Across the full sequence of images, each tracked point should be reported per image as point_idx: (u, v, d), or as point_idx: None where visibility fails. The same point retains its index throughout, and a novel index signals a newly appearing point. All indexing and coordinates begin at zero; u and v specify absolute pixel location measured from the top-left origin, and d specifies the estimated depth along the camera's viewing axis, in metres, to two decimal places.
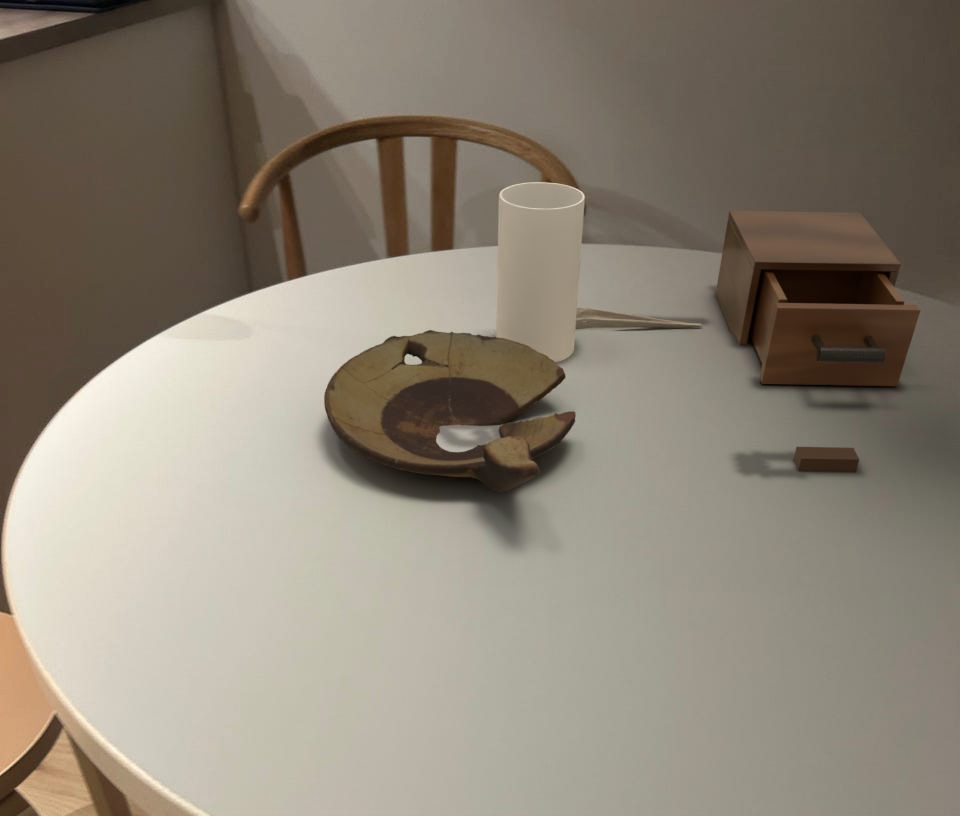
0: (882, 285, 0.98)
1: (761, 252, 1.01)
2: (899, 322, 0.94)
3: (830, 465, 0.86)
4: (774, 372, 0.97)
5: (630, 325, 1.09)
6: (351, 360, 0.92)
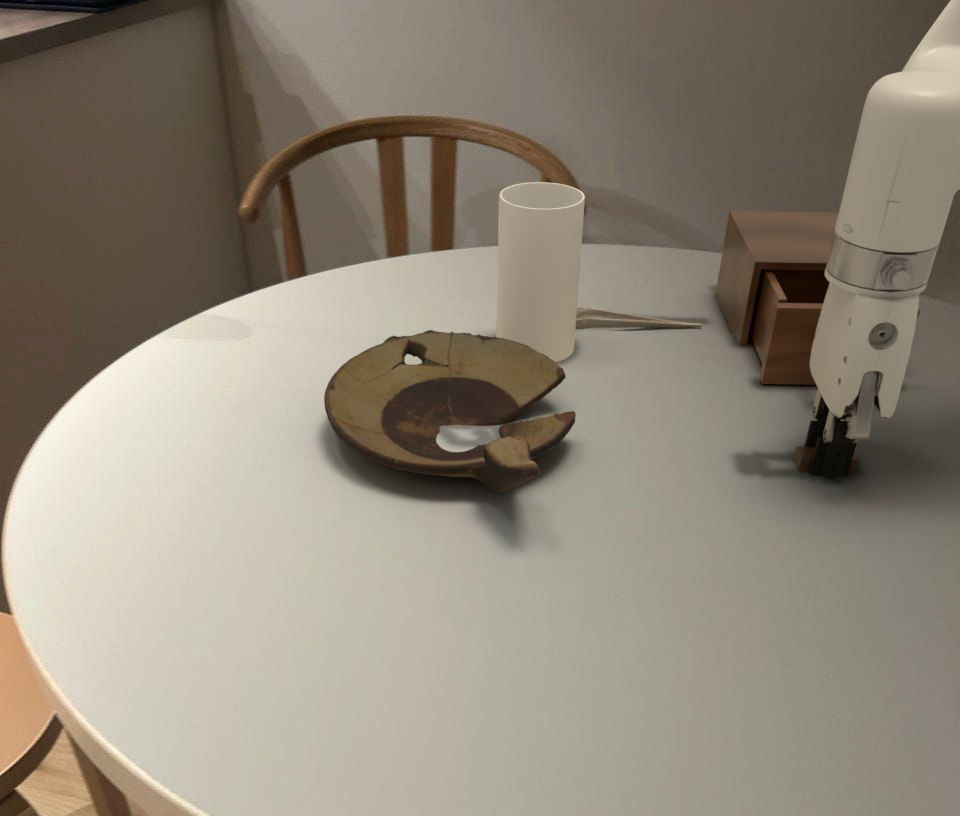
0: None
1: (761, 252, 1.01)
2: None
3: None
4: (774, 372, 0.97)
5: (630, 325, 1.09)
6: (351, 360, 0.92)
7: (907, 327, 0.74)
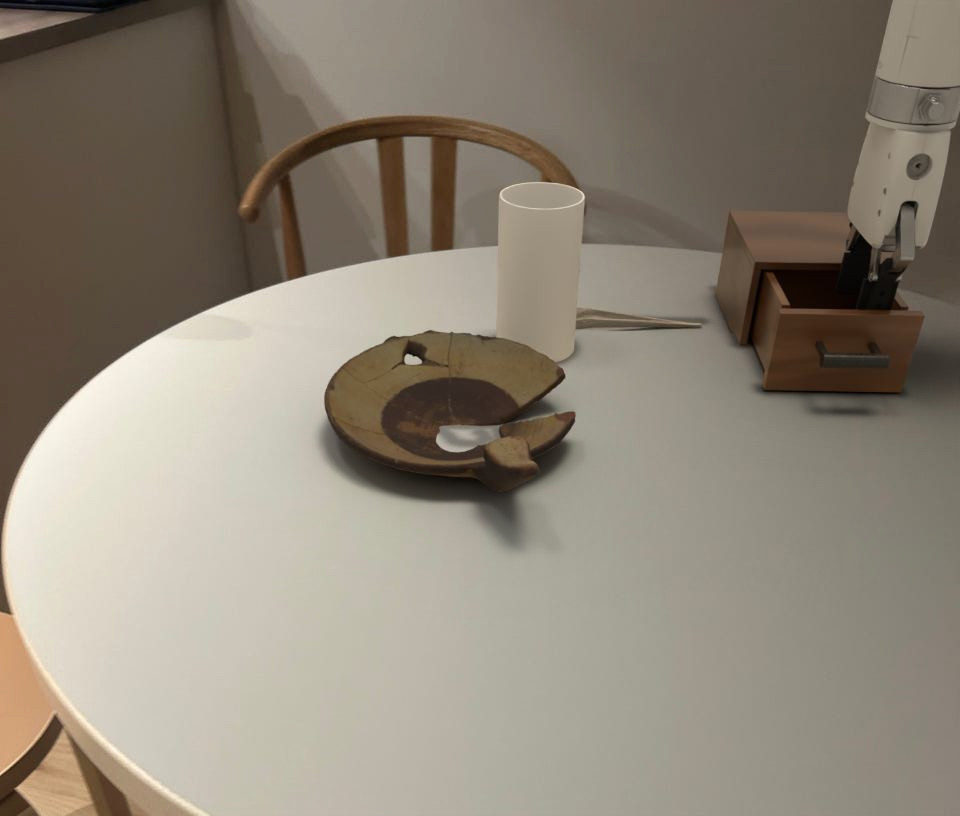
0: None
1: (761, 252, 1.01)
2: (903, 328, 0.93)
3: None
4: (777, 378, 0.96)
5: (630, 325, 1.09)
6: (351, 360, 0.92)
7: (940, 158, 0.84)
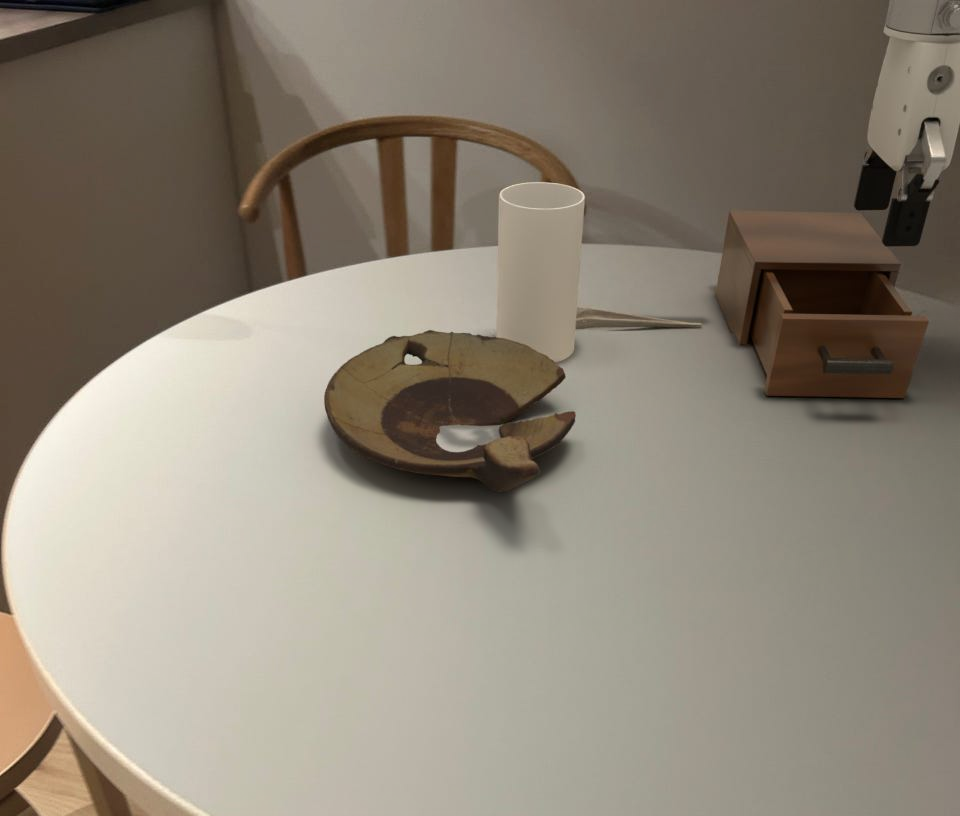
0: (889, 295, 0.97)
1: (761, 252, 1.01)
2: (907, 333, 0.92)
3: None
4: (779, 384, 0.95)
5: (630, 325, 1.09)
6: (351, 360, 0.92)
7: None
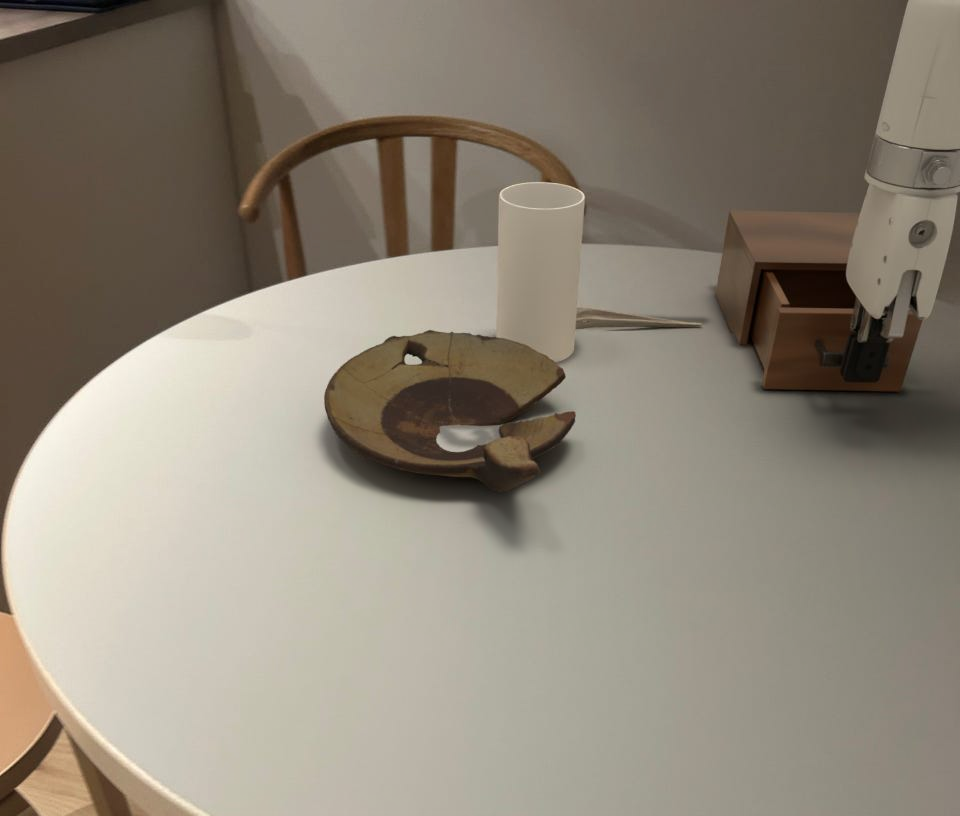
0: None
1: (761, 252, 1.01)
2: None
3: None
4: (776, 377, 0.96)
5: (630, 324, 1.09)
6: (351, 360, 0.92)
7: (945, 225, 0.77)
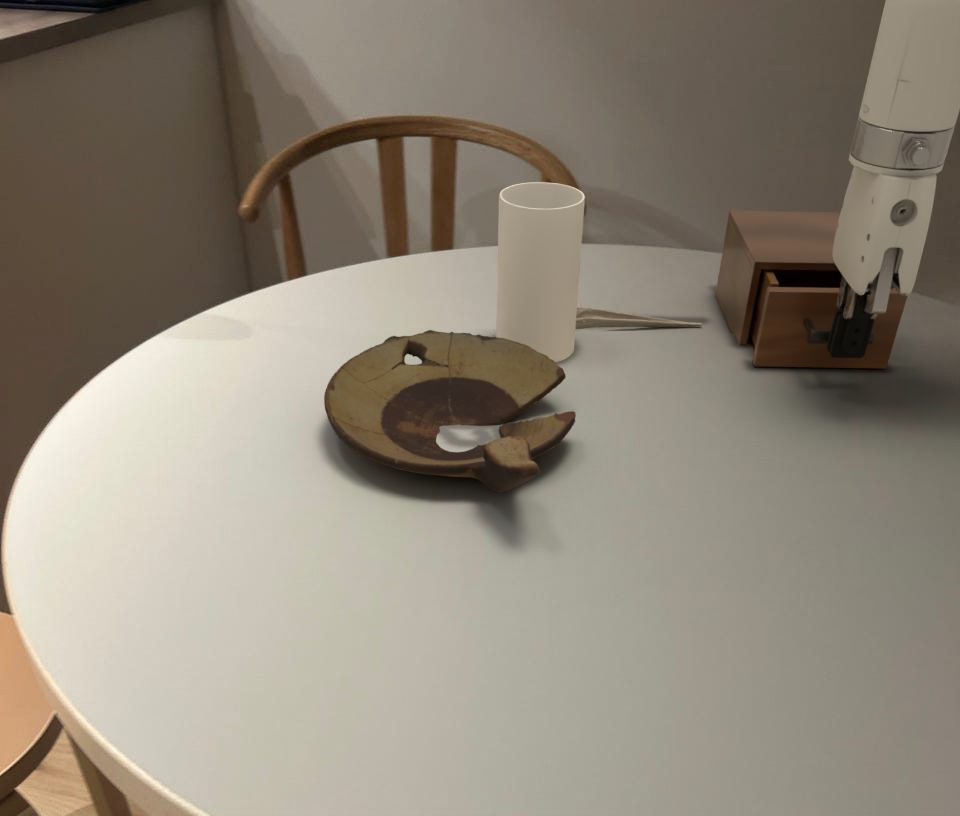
0: None
1: (761, 252, 1.01)
2: (887, 305, 0.97)
3: None
4: (767, 355, 1.00)
5: (630, 324, 1.09)
6: (351, 360, 0.92)
7: (925, 204, 0.81)
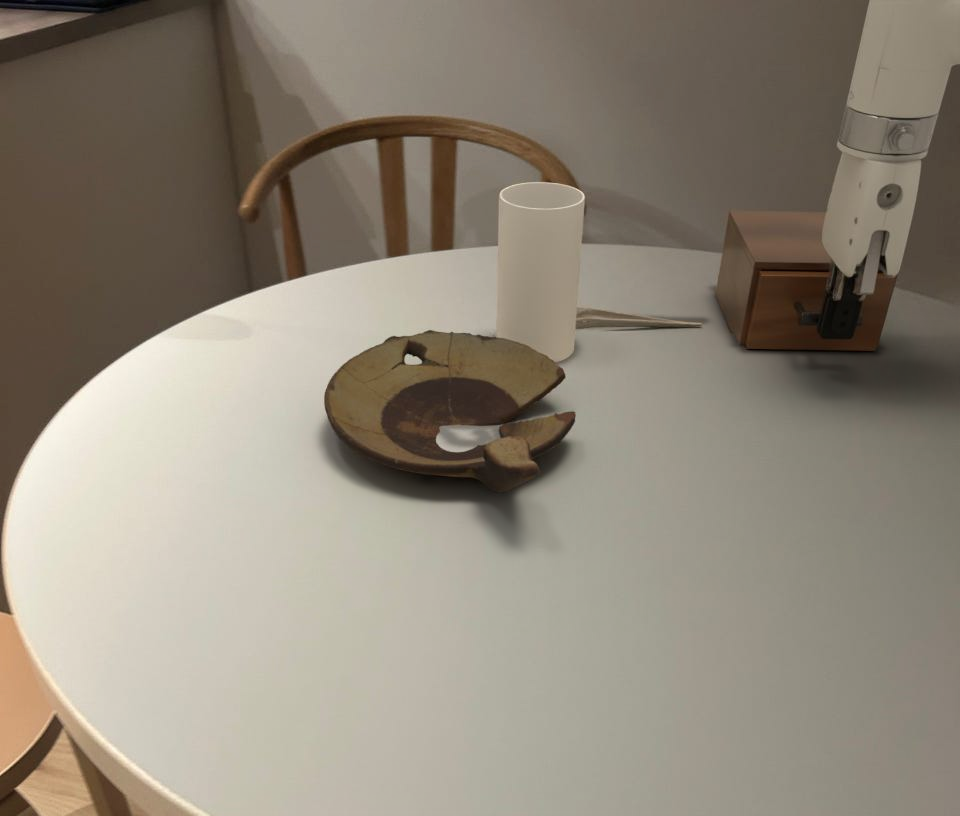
0: None
1: (761, 252, 1.01)
2: (876, 289, 1.00)
3: None
4: (759, 337, 1.03)
5: (630, 324, 1.09)
6: (351, 360, 0.92)
7: (911, 188, 0.84)
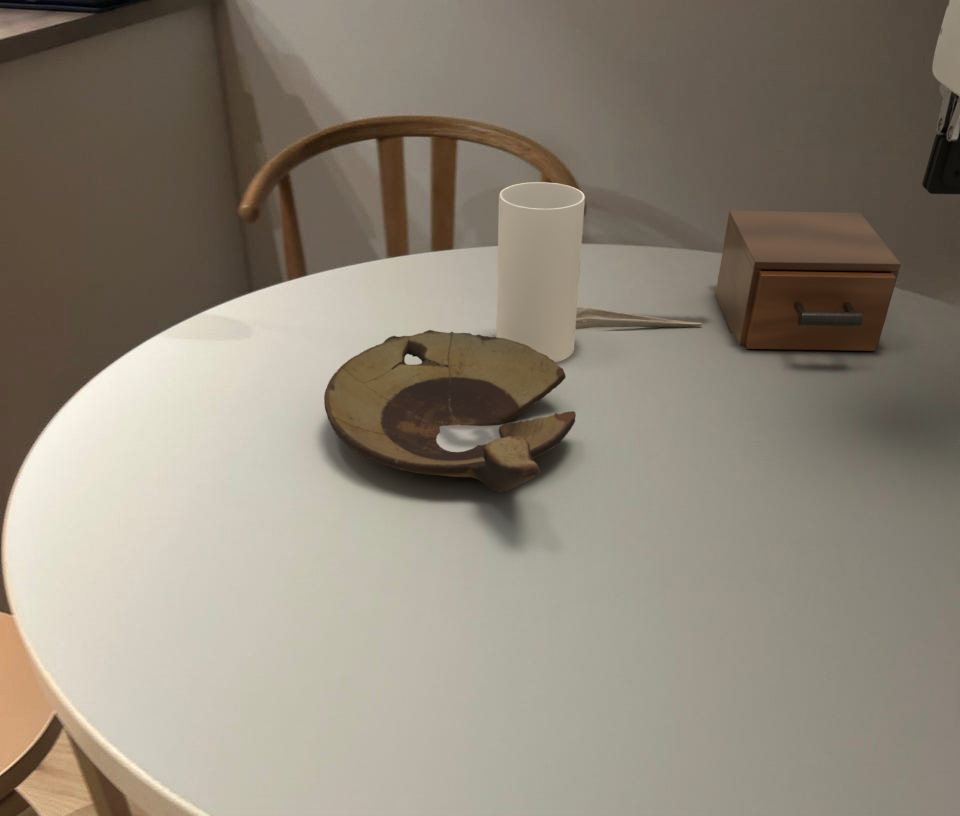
0: None
1: (761, 252, 1.01)
2: (876, 289, 1.00)
3: None
4: (759, 337, 1.03)
5: (630, 324, 1.10)
6: (351, 360, 0.92)
7: None
